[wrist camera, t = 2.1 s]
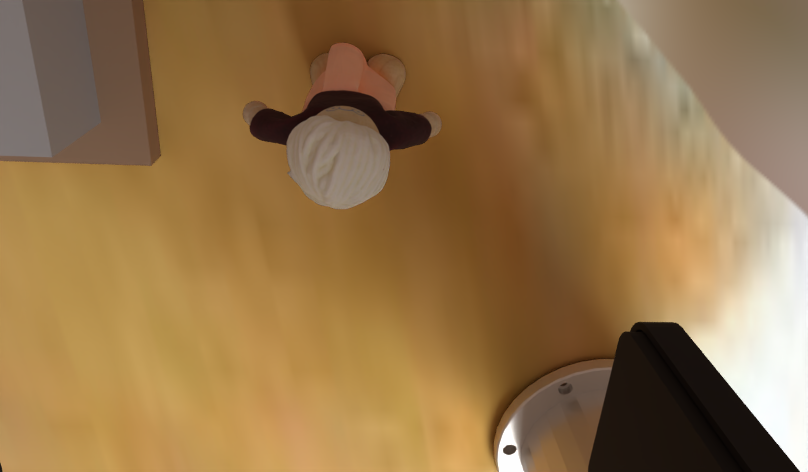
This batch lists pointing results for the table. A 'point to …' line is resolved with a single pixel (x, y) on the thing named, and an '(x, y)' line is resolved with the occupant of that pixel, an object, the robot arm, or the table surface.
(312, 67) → the grandmother figurine
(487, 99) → the table surface
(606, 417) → the robot arm
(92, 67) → the plinth
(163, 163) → the table surface
